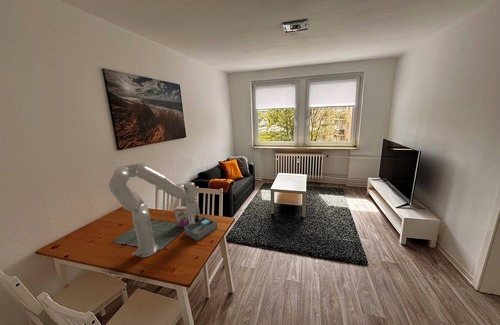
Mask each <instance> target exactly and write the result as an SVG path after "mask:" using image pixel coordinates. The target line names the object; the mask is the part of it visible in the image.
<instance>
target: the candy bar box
mask: <svg viewBox="0 0 500 325" xmlns="http://www.w3.org/2000/svg"><path fill="white" fill-rule="evenodd" d="M173 210H174V211H173V212H174V215H175V222H176V223H175V224H176V227H177V228H178V227H179V228H181V227H182V228H184V227H186V226H187V225H189V224H191V221H190V216H189V213H187V211H186V206H182V205H181V206H178V205H177V206H176V207H175V208H174V209H173Z"/></svg>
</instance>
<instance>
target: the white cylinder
mask: <svg viewBox="0 0 500 325" xmlns="http://www.w3.org/2000/svg"><path fill="white" fill-rule="evenodd" d="M190 216H191V223H192V224H196V223H195V219H194V218H195V217H194V215H191V214H190ZM196 216H197V214H196ZM197 223H198V222H197Z"/></svg>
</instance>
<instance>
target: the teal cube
mask: <svg viewBox="0 0 500 325" xmlns="http://www.w3.org/2000/svg"><path fill="white" fill-rule="evenodd" d="M209 225H210V221H208V220H206V219H205V220H204V221H202V222H201V227H202V228H203V229H205V228H206V227H208V226H209Z"/></svg>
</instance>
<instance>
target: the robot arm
mask: <svg viewBox="0 0 500 325" xmlns="http://www.w3.org/2000/svg"><path fill="white" fill-rule="evenodd" d="M135 177H137V178H139V179H140V180H142V181H144V182H146V183H149V184H151V185H153V186H154V187H156V188H158V189H159V190H161V191H163V192H165V193H166V194H168V195H170V196H172V197H174V198H176V199H180V200H181V199H183V198H185V207H186V211H187V213H189V216H190V214H191V215H194V217H195V218H194V219H195V223H197V222H199V219H200V216H201V213H200V207H199V203H198V199H197V198H198V197H197V192H196V185H195V182H192V181H189V182H184V183H177V184H175V183H174V182H173V181H171V180H170V179H169V178H167V177H166V176H165V175H164V174H163V173H160V172H158V171H157V170H155V169H153V168H151V167H150V166H149V164H147V163H144V162H140V163H134V164H128V165H122V166H119V167H117V168H116V169H115V170H114V172H113V175H112V177H111V178H110V180H109V183H108V188H109V190H110V192H111V194H112V195H113V196H114V197H115V198H116V200H117V201H118V202H119V204H120V205H121V206H122V207H123V209H124V210H126V211H129V212H131V213H132V215H131V216H132V218H131V219H132V224H133V226H134V231H135V235H136V239H137V242H138V243H137V244H138V247H137V250H135V251H134V252H133V251H132V253H131V255H132V256H133V257H134V256H136V257H137V256H138V257H139V258H147V257H150V256H152V255H154V254H155V253H157V252H158V250H159V245H158V244H157V243H156V242H155V237H154V232H153V227H152V224H151V223H152V222H151V216H150V211H149V208H148V205H147V204H146V203H145V201H144V200H143V198H142V197H141V196H140V195H139V193H137V192H135V191H132V190H131V189H130V187H128V186H127V183H128V181H129V180H130V179H131V178H135ZM196 214H197V216H196ZM190 221H191V216H190Z"/></svg>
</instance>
